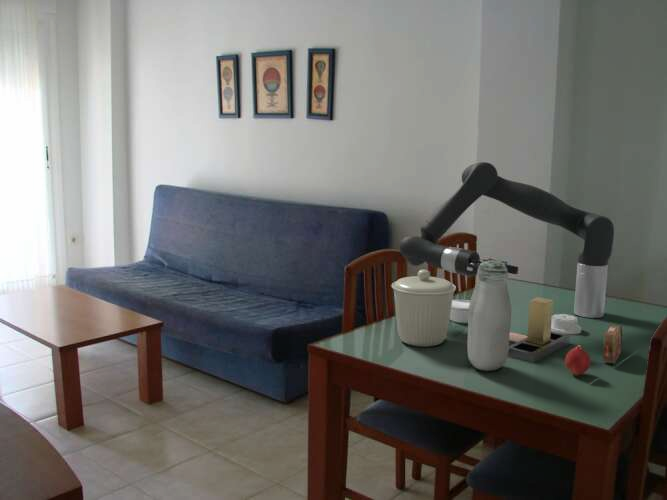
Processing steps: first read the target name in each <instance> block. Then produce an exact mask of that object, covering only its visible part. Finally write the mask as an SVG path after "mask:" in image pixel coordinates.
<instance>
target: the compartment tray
mask: <svg viewBox="0 0 667 500" xmlns="http://www.w3.org/2000/svg"><path fill="white" fill-rule="evenodd" d="M527 338H528V337H527ZM527 338H525V339H523V340H521V341H519V342H515V343H513V344H511V345H510V344H509V350H508V356H507V357H509V358H514V359H518V360H520V361H524V362H529V363H532V364H534V363H536V362H537V361H540V360H541V359H543V358H546V357H547V356H548V355H551V354H553V353H554V352H556V351H558V350H560V349H561V348H563V347H565V346H567V345H569V344H570V334H561V333H555V332H552V331H551V336H550V343H549V344H547V345H545V346H541V345H537V344H533V343H529V342H527Z"/></svg>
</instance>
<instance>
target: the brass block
mask: <svg viewBox="0 0 667 500" xmlns="http://www.w3.org/2000/svg"><path fill="white" fill-rule="evenodd" d="M553 303H554V300H553V299H550V298H544V297H539V296H537V297H534V298H532V299H530V300H529V309H528V310H529V311H528V325H527V336H528V338H527V342H529V343H533V344H537V345H541V346H545V345H547V344H549V343H550V336H551V332H552V331H551V322H552V316H553V308H554V307H553Z"/></svg>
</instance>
